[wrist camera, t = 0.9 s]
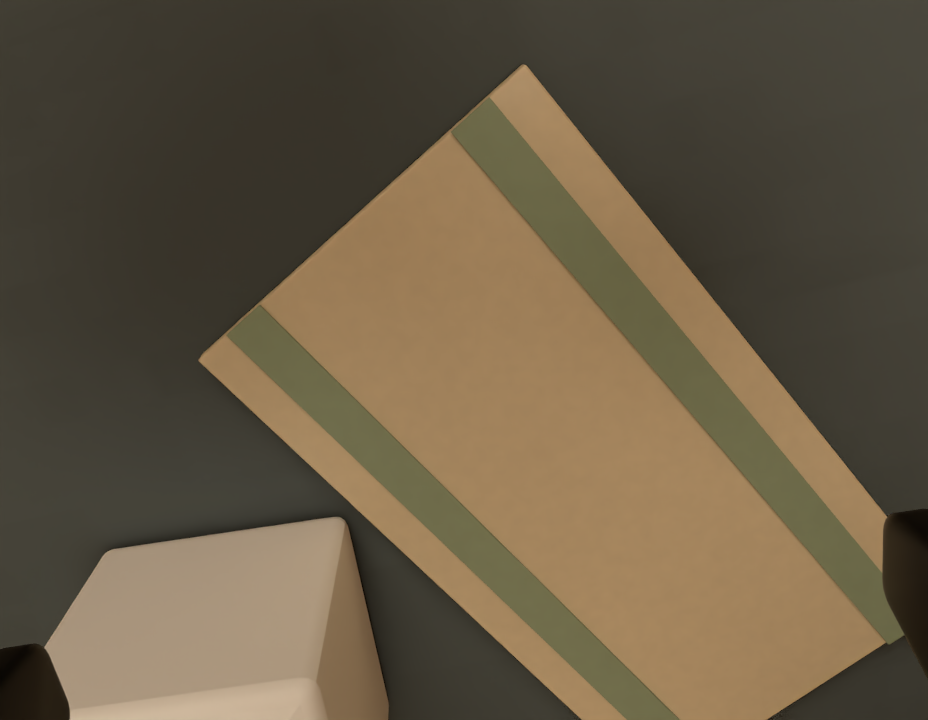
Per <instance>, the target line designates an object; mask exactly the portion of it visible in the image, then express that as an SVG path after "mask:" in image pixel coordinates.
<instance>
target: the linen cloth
mask: <svg viewBox="0 0 928 720" xmlns="http://www.w3.org/2000/svg"><path fill="white" fill-rule="evenodd" d="M199 362H200V363H201V364H202V365H203V366H204V367H205V368H207V369H208V370H209V371H210V372H211V373H212V374H213V375H214V376H215V377H216V378H217V379H218V380H219V381H220V382H221V383H223V384H224V385H225V386H226V387H227V388H228V389H229V390H230V391H231V392H232V393H233V394H234V395H235V396H236V397H237V398H239V399H240V400H241V401H242V402H243V403H244V404H245V405H246V406H247V407H248V408H249V409H250V410H251V411H252V412H254V413H255V414H256V415H257V416H258V417H259V418H260V419H261V420H262V421H263V422H264V423H265V424H266V425H267V426H268V427H270V428H271V429H272V430H273V431H274V432H275V433H276V434H277V435H278V436H279V437H280V438H281V439H282V440H283V441H285V442H286V443H287V444H288V445H289V446H290V447H291V448H292V449H293V450H294V451H295V452H296V453H297V454H298V455H299V456H301V457H302V458H303V459H304V460H305V461H306V462H307V463H308V464H309V465H310V466H311V467H312V468H313V469H314V470H315V471H317V472H318V473H319V474H320V475H321V476H322V477H323V478H324V479H325V480H326V481H327V482H328V483H329V484H330V485H332V486H333V487H334V488H335V489H336V490H337V491H338V492H339V493H340V494H341V495H342V496H343V497H344V498H345V499H346V500H348V501H349V502H350V503H351V504H352V505H353V506H354V507H355V508H356V509H357V510H358V511H359V512H360V513H361V514H363V515H364V516H365V517H366V518H367V519H368V520H369V521H370V522H371V523H372V524H373V525H374V526H375V527H376V528H377V529H379V530H380V531H381V532H382V533H383V534H384V535H385V536H386V537H387V538H388V539H389V540H390V541H391V542H392V543H393V544H395V545H396V546H397V547H398V548H399V549H400V550H401V551H402V552H403V553H404V554H405V555H406V556H407V557H408V558H410V559H411V560H412V561H413V562H414V563H415V564H416V565H417V566H418V567H419V568H420V569H421V570H422V571H423V572H424V573H426V574H427V575H428V576H429V577H430V578H431V579H432V580H433V581H434V582H435V583H436V584H437V585H438V586H439V587H440V588H442V589H443V590H444V591H445V592H446V593H447V594H448V595H449V596H450V597H451V598H452V599H453V600H454V601H455V602H457V603H458V604H459V605H460V606H461V607H462V608H463V609H464V610H465V611H466V612H467V613H468V614H469V615H470V616H471V617H473V618H474V619H475V620H476V621H477V622H478V623H479V624H480V625H481V626H482V627H483V628H484V629H485V630H486V631H488V632H489V633H490V634H491V635H492V636H493V637H494V638H495V639H496V640H497V641H498V642H499V643H500V644H501V645H502V646H504V647H505V648H506V649H507V650H508V651H509V652H510V653H511V654H512V655H513V656H514V657H515V658H516V659H517V660H518V661H520V662H521V663H522V664H523V665H524V666H525V667H526V668H527V669H528V670H529V671H530V672H531V673H532V674H533V675H535V676H536V677H537V678H538V679H539V680H540V681H541V682H542V683H543V684H544V685H545V686H546V687H547V688H548V689H549V690H551V691H552V692H553V693H554V694H555V695H556V696H557V697H558V698H559V699H560V700H561V701H562V702H563V703H564V704H565V705H567V706H568V707H569V708H570V709H571V710H572V711H573V712H574V713H575V714H576V715H577V716H578V717H579V718H580V719H582V720H767V719H768V718H770V717H771V716H773V715H774V714H776V713H778V712H779V711H781V710H782V709H784V708H785V707H787V706H788V705H790V704H791V703H793V702H795V701H796V700H798V699H799V698H801V697H802V696H804V695H805V694H807V693H809V692H810V691H812V690H813V689H815V688H816V687H818V686H819V685H821V684H822V683H824V682H826V681H827V680H829V679H830V678H832V677H833V676H835V675H836V674H838V673H840V672H841V671H843V670H844V669H846V668H847V667H849V666H850V665H852V664H854V663H855V662H857V661H858V660H860V659H861V658H863V657H864V656H866V655H867V654H869V653H871V652H872V651H874V650H875V649H877V648H878V647H880V646H881V645H883V644H885V643H886V642H887V643H888V645H889V644H891V643H892V642H894V641H896V640H897V639H899V638H900V637H902V636H903V635H904V633H903V631H902V629H901V627H900V625H899V623H898V622H897V620H896V618H895V616H894V614H893V612H892V610H891V608H890V606H889V604H888V602H887V600H886V597H885V593H884V590H883V583H882V561H883V526H884V522H885V519H886V518H887V516H886V515H885V514H884V512H883V511H882V510H881V509H880V507H879V506H878V505H877V504H876V502H875V501H874V500H873V499H872V497H871V496H870V495H869V494H868V492H867V491H866V490H865V489H864V487H863V486H862V485H861V484H860V482H859V481H858V480H857V479H856V477H855V476H854V475H853V474H852V472H851V471H850V470H849V469H848V467H847V466H846V465H845V464H844V462H843V461H842V460H841V459H840V457H839V456H838V455H837V454H836V452H835V451H834V450H833V449H832V447H831V446H830V445H829V444H828V442H827V441H826V440H825V439H824V437H823V436H822V435H821V434H820V432H819V431H818V430H817V429H816V427H815V426H814V425H813V424H812V422H811V421H810V420H809V419H808V417H807V416H806V415H805V414H804V412H803V411H802V410H801V409H800V407H799V406H798V405H797V404H796V402H795V401H794V400H793V399H792V397H791V396H790V395H789V394H788V392H787V391H786V390H785V389H784V387H783V386H782V385H781V384H780V382H779V381H778V380H777V379H776V377H775V376H774V375H773V374H772V372H771V371H770V370H769V368H768V367H767V366H766V365H765V363H764V362H763V361H762V360H761V358H760V357H759V356H758V355H757V353H756V352H755V351H754V350H753V348H752V347H751V346H750V345H749V343H748V342H747V341H746V340H745V338H744V337H743V336H742V335H741V333H740V332H739V331H738V330H737V328H736V327H735V326H734V325H733V323H732V322H731V321H730V320H729V318H728V317H727V316H726V315H725V313H724V312H723V311H722V310H721V308H720V307H719V306H718V305H717V303H716V302H715V301H714V300H713V298H712V297H711V296H710V295H709V293H708V292H707V291H706V290H705V288H704V287H703V286H702V285H701V283H700V282H699V281H698V280H697V278H696V277H695V276H694V275H693V273H692V272H691V271H690V270H689V268H688V267H687V266H686V265H685V263H684V262H683V261H682V260H681V258H680V257H679V256H678V255H677V253H676V252H675V251H674V250H673V248H672V247H671V246H670V245H669V243H668V242H667V241H666V240H665V238H664V237H663V236H662V235H661V233H660V232H659V231H658V230H657V228H656V227H655V226H654V225H653V223H652V222H651V221H650V220H649V218H648V217H647V216H646V215H645V213H644V212H643V211H642V210H641V208H640V207H639V206H638V205H637V203H636V202H635V201H634V200H633V198H632V197H631V196H630V194H629V193H628V192H627V191H626V189H625V188H624V187H623V186H622V184H621V183H620V182H619V181H618V179H617V178H616V177H615V176H614V174H613V173H612V172H611V171H610V169H609V168H608V167H607V166H606V164H605V163H604V162H603V161H602V159H601V158H600V157H599V156H598V154H597V153H596V152H595V151H594V149H593V148H592V147H591V146H590V144H589V143H588V142H587V141H586V139H585V138H584V137H583V136H582V134H581V133H580V132H579V131H578V129H577V128H576V127H575V126H574V124H573V123H572V122H571V121H570V119H569V118H568V117H567V116H566V114H565V113H564V112H563V111H562V109H561V108H560V107H559V106H558V104H557V103H556V102H555V101H554V99H553V98H552V97H551V96H550V94H549V93H548V92H547V91H546V89H545V88H544V87H543V86H542V84H541V83H540V82H539V81H538V79H537V78H536V77H535V76H534V74H533V73H532V72H531V71H530V69H529V68H528V67H527V66H526V65H521V66H520V67H519V68H517V69H516V70H515V71H514V72H513V73H512V74H511V75H510V76H509V77H508V78H506V79H505V80H504V81H503V82H502V83H501V84H500V85H499V86H498V87H497V88H495V89H494V90H493V91H492V92H491V93H490V94H489V95H488V96H487V97H485V98H484V99H483V100H482V101H481V102H480V103H479V104H478V105H477V106H476V107H474V108H473V109H472V110H471V111H470V112H469V113H468V114H467V115H466V116H464V117H463V118H462V119H461V120H460V121H459V122H458V123H457V124H456V125H455V126H453V127H452V128H451V129H450V130H449V131H448V132H447V133H446V134H445V135H443V136H442V137H441V138H440V139H439V140H438V141H437V142H436V143H435V144H434V145H432V146H431V147H430V148H429V149H428V150H427V151H426V152H425V153H424V154H422V155H421V156H420V157H419V158H418V159H417V160H416V161H415V162H414V163H413V164H411V165H410V166H409V167H408V168H407V169H406V170H405V171H404V172H403V173H402V174H400V175H399V176H398V177H397V178H396V179H395V180H394V181H393V182H392V183H390V184H389V185H388V186H387V187H386V188H385V189H384V190H383V191H382V192H381V193H379V194H378V195H377V196H376V197H375V198H374V199H373V200H372V201H371V202H369V203H368V204H367V205H366V206H365V207H364V208H363V209H362V210H361V211H360V212H358V213H357V214H356V215H355V216H354V217H353V218H352V219H351V220H350V221H348V222H347V223H346V224H345V225H344V226H343V227H342V228H341V229H340V230H339V231H337V232H336V233H335V234H334V235H333V236H332V237H331V238H330V239H329V240H327V241H326V242H325V243H324V244H323V245H322V246H321V247H320V248H319V249H318V250H316V251H315V252H314V253H313V254H312V255H311V256H310V257H309V258H308V259H307V260H305V261H304V262H303V263H302V264H301V265H300V266H299V267H298V268H297V269H295V270H294V271H293V272H292V273H291V274H290V275H289V276H288V277H287V278H286V279H284V280H283V281H282V282H281V283H280V284H279V285H278V286H277V287H276V288H274V289H273V290H272V291H271V292H270V293H269V294H268V295H267V296H266V297H265V298H263V299H262V300H261V301H260V302H259V303H258V304H257V305H256V306H255V307H253V308H252V309H251V310H250V311H249V312H248V313H247V314H246V315H245V316H244V317H242V318H241V319H240V320H239V321H238V322H237V323H236V324H235V325H234V326H232V327H231V328H230V329H229V330H228V331H227V332H226V333H225V334H224V335H223V336H221V337H220V338H219V339H218V340H217V341H216V342H215V343H214V344H213V345H212V346H210V347H209V348H208V349H207V350H206V351H205V352H204V353H203V354H202V356H201V357H200V358H199Z"/></svg>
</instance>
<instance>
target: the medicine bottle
mask: <svg viewBox="0 0 928 720" xmlns="http://www.w3.org/2000/svg"><path fill="white" fill-rule="evenodd" d="M44 648H45V649H46V650H47V652H48V654H49V656H50V658H51V660H52V663H53V665H54V668H55V670H56V673H57V675H58V677H59V680H60V682H61V685H62V687H63V690H64V692H65V695H66V697H67V699H68V703H69V708H70V720H388V712H389V703H388V698H387V694H386V689H385V685H384V681H383V676H382V672H381V668H380V663H379V659H378V655H377V650H376V646H375V641H374V637H373V633H372V628H371V624H370V620H369V615H368V611H367V606H366V602H365V598H364V593H363V589H362V585H361V580H360V576H359V571H358V567H357V563H356V558H355V554H354V550H353V545H352V541H351V536H350V532H349V528H348V525H347V523H346V521H345V520H344V519H342V518H340V517H329V518H322V519H315V520H308V521H301V522H294V523H288V524H281V525H274V526H267V527H260V528H254V529H247V530H240V531H233V532H226V533H219V534H213V535H206V536H199V537H192V538H185V539H179V540H172V541H165V542H158V543H151V544H145V545H138V546H131V547H124V548H117V549H112V550H110V551H108V552H106V553H105V554H104V555H103V557H102V558H101V560H100V561H99V563H98V564H97V566H96V568H95V569H94V571H93V572H92V574H91V575H90V577H89V578H88V580H87V582H86V583H85V585H84V586H83V588H82V589H81V591H80V593H79V594H78V596H77V597H76V599H75V600H74V602H73V603H72V605H71V607H70V608H69V610H68V611H67V613H66V614H65V616H64V618H63V619H62V621H61V622H60V624H59V625H58V627H57V628H56V630H55V632H54V633H53V635H52V636H51V638H50V639H49V641H48V643H47V644H46V646H45V647H44Z"/></svg>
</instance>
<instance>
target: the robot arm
mask: <svg viewBox="0 0 928 720" xmlns="http://www.w3.org/2000/svg"><path fill="white" fill-rule="evenodd" d="M882 583H883V590H884V593H885V597H886V600H887V602H888V604H889V606H890V608H891V610H892V612H893V614H894V616H895V618H896V620H897V622H898V623H899V625H900V627H901V629H902V631H903V633H904V635H905V637H906V639H907V641H908V642H909V644H910V646H911V648H912V650H913V652H914V654H915V656H916V658H917V659H918V661H919V663H920V665H921V667H922V669H923V671H924V673H925V675H926V677H927V678H928V509H918V510H912V511H905V512H899V513H893V514H890V515H889V516H888V517H887V518H886V519H885V522H884V526H883V561H882ZM0 720H70V708H69V703H68V699H67V697H66V695H65V692H64V690H63V687H62V685H61V682H60V680H59V677H58V675H57V673H56V670H55V668H54V665H53V663H52V660H51V658H50V656H49V654H48V652H47V650H46V649H45V648H44V647H43V646H41V645H39V644H28V645H21V646H15V647H8V648H3V649H0Z"/></svg>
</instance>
